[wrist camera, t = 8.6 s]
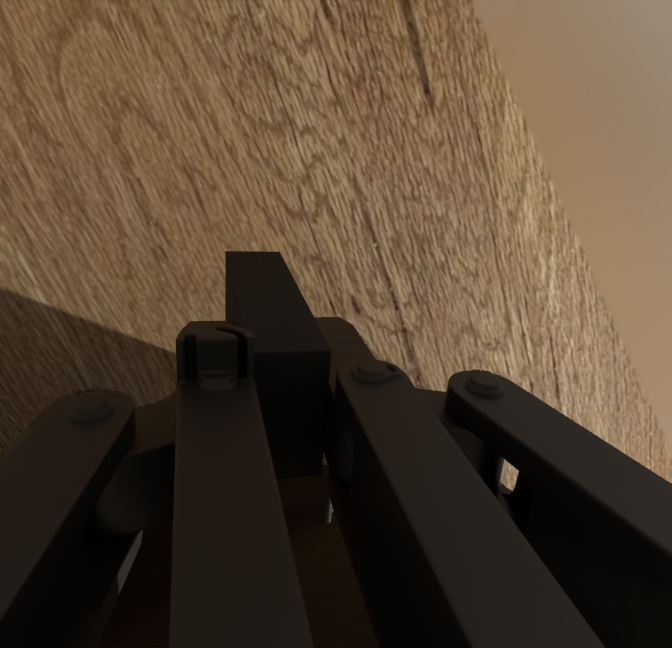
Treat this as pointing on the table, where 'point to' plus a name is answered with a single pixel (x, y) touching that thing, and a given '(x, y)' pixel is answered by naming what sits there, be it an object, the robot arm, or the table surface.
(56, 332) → the table surface
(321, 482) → the oven door
